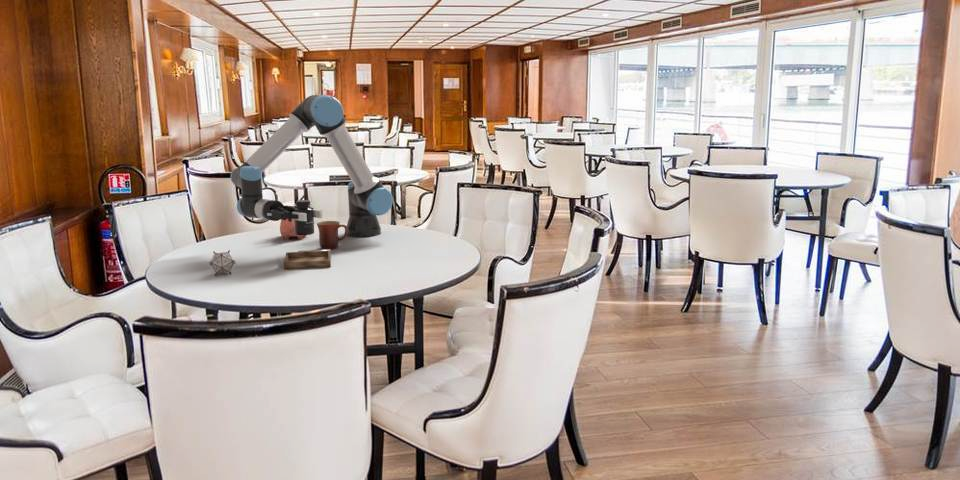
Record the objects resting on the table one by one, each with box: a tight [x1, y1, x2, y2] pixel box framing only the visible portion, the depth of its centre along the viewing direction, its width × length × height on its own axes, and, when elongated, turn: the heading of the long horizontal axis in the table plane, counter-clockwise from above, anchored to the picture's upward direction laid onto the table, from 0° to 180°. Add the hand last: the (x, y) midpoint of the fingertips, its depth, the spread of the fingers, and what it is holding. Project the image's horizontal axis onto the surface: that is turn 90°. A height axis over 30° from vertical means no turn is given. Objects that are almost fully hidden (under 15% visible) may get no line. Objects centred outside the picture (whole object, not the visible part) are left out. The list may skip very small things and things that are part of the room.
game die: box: [208, 250, 236, 276], centre depth 241 cm, size 9×8×10 cm
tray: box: [283, 250, 332, 270], centre depth 257 cm, size 16×16×2 cm
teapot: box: [279, 219, 307, 240], centre depth 300 cm, size 20×12×12 cm, turn 2°
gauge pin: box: [297, 249, 332, 252], centre depth 268 cm, size 12×2×2 cm, turn 102°
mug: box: [316, 220, 348, 250], centre depth 280 cm, size 12×9×10 cm
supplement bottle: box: [294, 199, 315, 236], centre depth 253 cm, size 7×7×12 cm
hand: (313, 215), depth 250 cm, fingers closed on supplement bottle, 7 cm apart
